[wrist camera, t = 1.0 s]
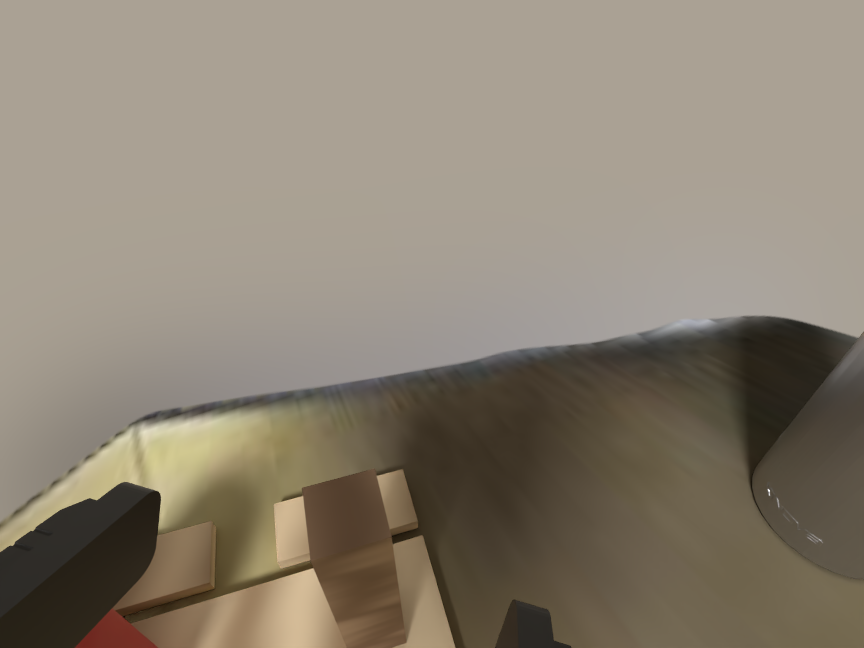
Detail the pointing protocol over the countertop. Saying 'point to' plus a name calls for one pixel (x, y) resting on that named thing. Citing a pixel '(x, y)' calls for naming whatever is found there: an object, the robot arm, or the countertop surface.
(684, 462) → the countertop surface
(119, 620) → the beer can
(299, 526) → the broken strip
